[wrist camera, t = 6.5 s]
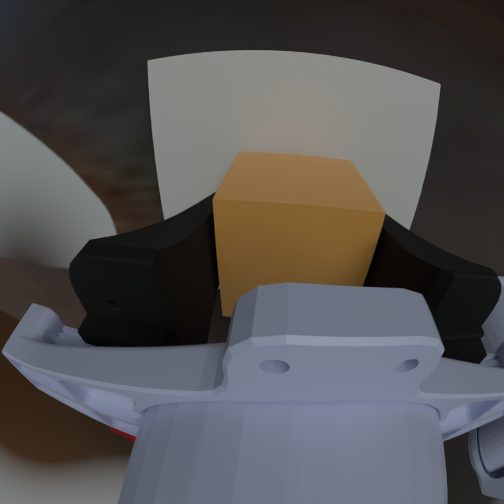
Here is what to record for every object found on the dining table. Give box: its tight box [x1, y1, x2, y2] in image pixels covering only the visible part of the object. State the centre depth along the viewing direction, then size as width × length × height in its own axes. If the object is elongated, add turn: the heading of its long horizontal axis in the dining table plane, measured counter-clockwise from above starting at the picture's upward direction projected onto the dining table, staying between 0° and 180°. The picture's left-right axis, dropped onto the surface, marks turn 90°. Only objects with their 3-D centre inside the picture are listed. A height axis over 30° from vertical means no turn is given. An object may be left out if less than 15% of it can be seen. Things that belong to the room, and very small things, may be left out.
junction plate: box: [148, 50, 440, 289], centre depth 12 cm, size 14×14×4 cm
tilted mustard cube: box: [213, 152, 386, 317], centre depth 11 cm, size 5×5×5 cm
